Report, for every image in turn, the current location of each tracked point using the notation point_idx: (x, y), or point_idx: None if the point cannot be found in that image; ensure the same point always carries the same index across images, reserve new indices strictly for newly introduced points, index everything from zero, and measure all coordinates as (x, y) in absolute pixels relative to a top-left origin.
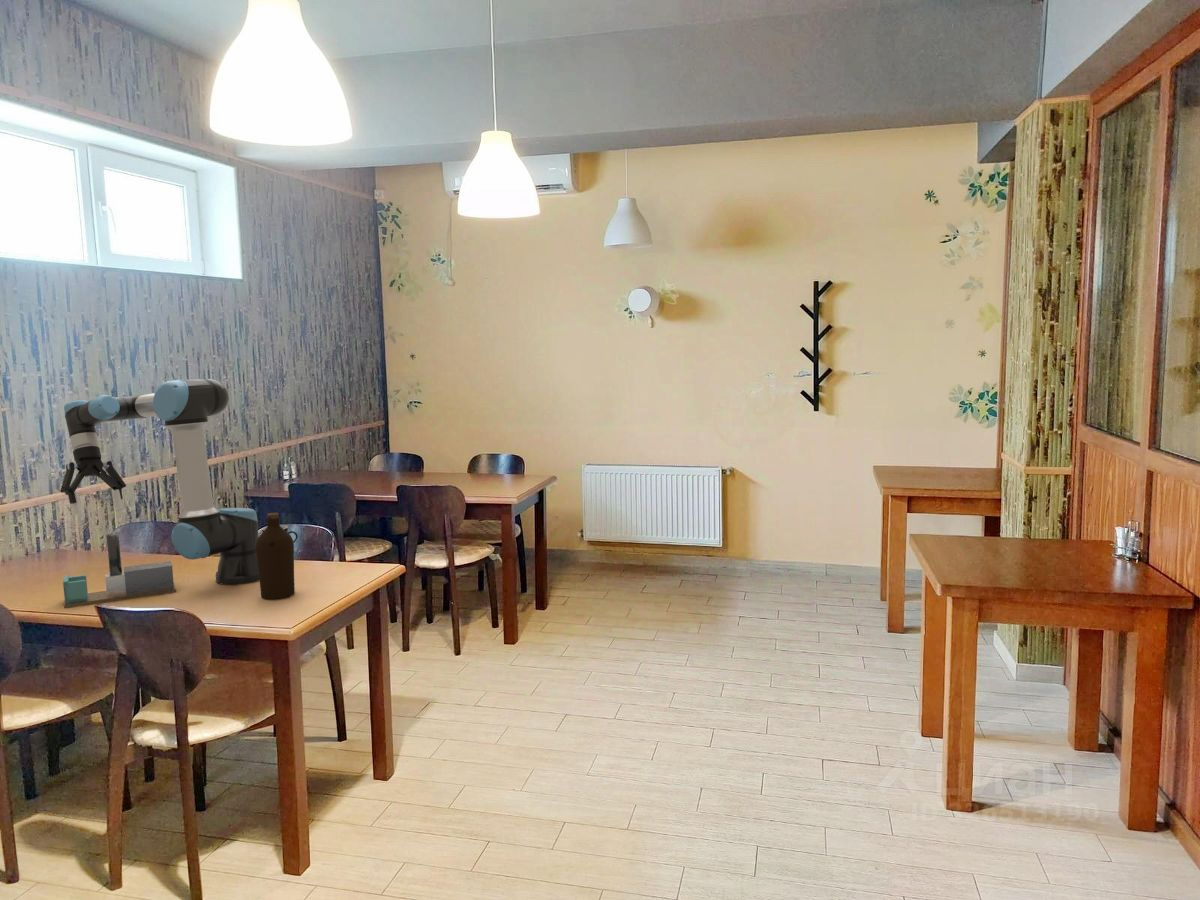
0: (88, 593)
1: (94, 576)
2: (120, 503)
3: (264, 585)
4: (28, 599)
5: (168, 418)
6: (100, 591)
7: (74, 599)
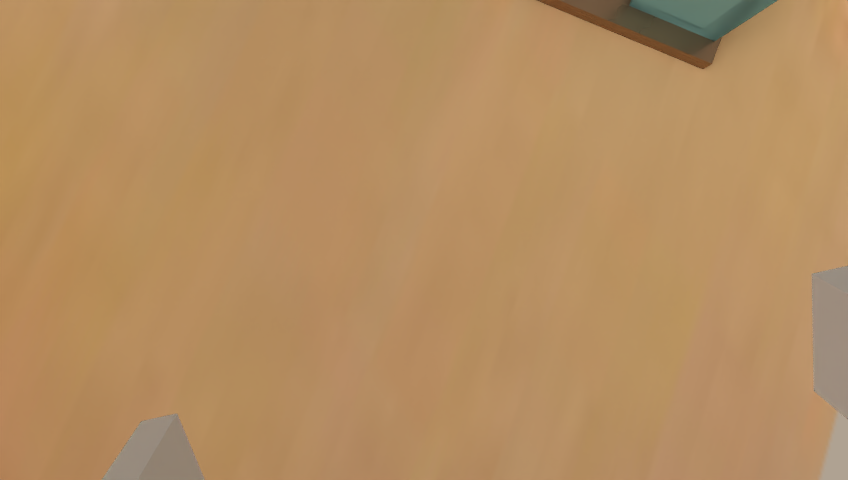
0: (621, 17)
1: (436, 432)
2: (129, 472)
3: None
4: (808, 230)
5: None
6: (569, 3)
7: None
